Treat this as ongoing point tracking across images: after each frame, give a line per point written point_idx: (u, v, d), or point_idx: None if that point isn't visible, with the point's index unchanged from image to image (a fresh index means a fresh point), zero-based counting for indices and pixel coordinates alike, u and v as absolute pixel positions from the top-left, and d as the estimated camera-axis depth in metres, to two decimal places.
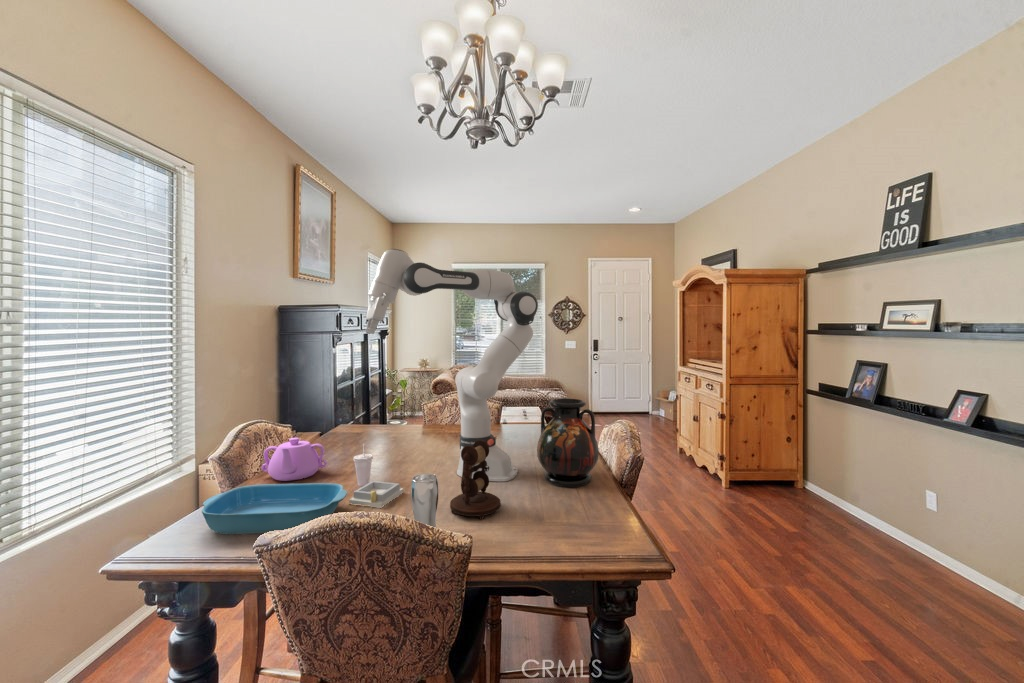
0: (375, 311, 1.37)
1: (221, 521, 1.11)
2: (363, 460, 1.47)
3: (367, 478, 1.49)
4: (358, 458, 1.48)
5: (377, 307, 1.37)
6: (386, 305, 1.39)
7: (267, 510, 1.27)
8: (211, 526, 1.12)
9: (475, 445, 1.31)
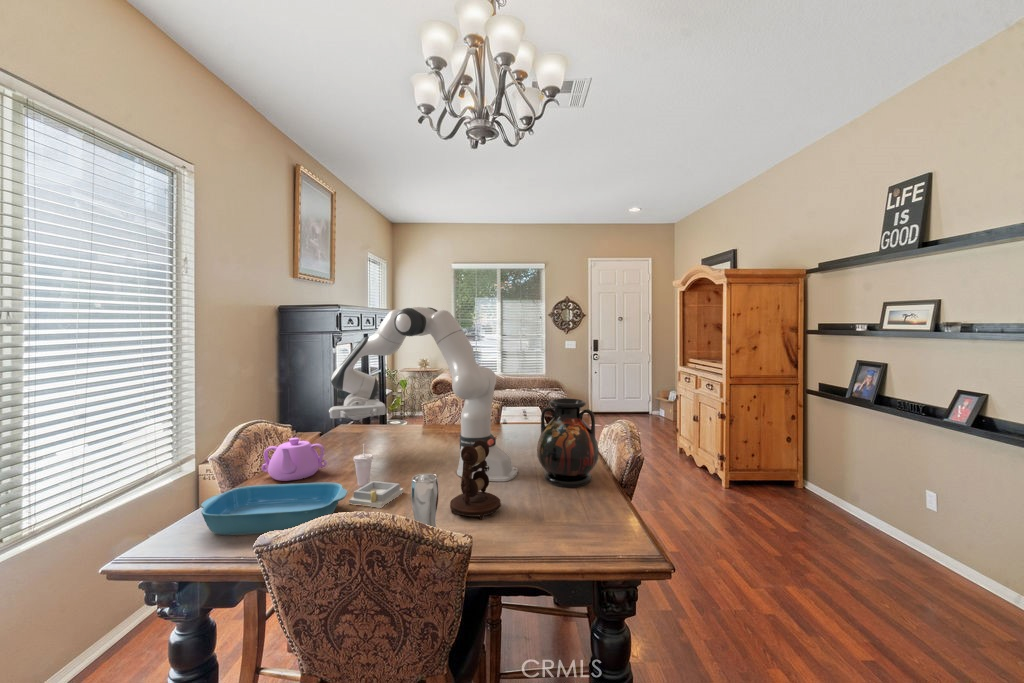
0: None
1: (222, 522, 1.10)
2: (363, 460, 1.47)
3: (367, 478, 1.49)
4: (358, 458, 1.48)
5: None
6: None
7: (265, 511, 1.26)
8: (211, 527, 1.11)
9: (475, 445, 1.31)
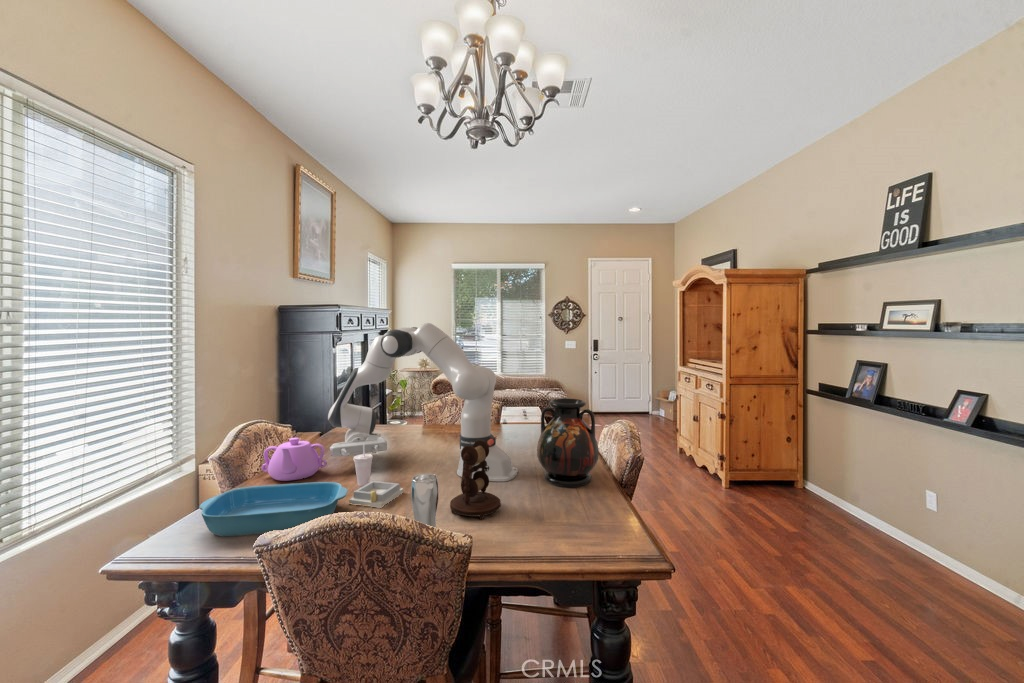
0: None
1: (224, 523, 1.10)
2: (363, 460, 1.47)
3: (367, 478, 1.49)
4: (358, 458, 1.48)
5: None
6: None
7: (264, 511, 1.26)
8: (212, 529, 1.10)
9: (475, 445, 1.31)
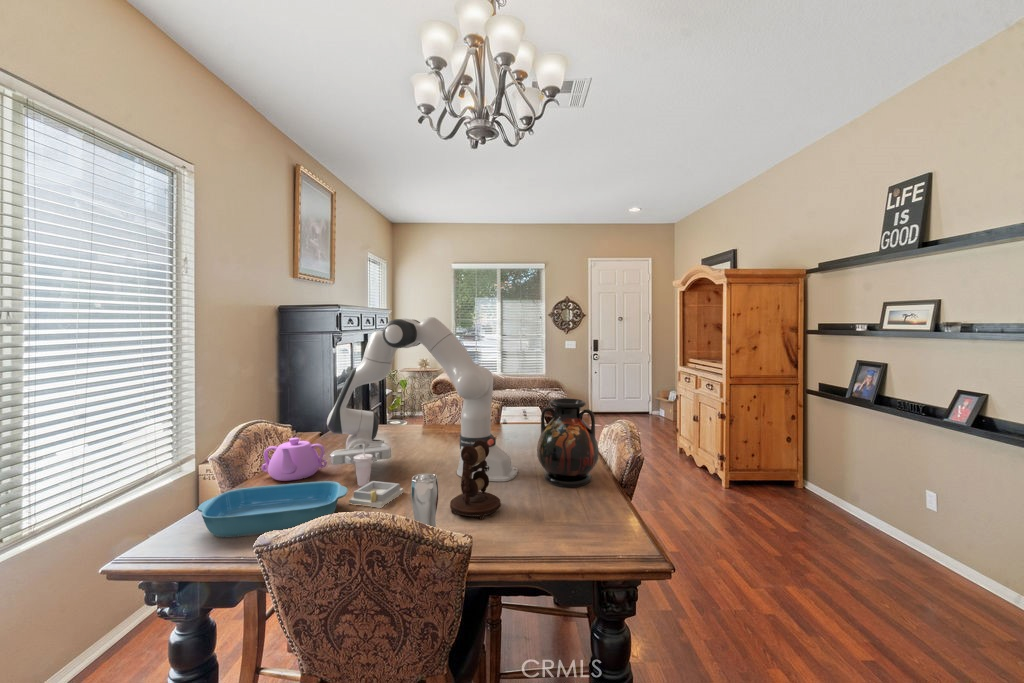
0: None
1: (226, 524, 1.09)
2: (363, 460, 1.47)
3: (367, 478, 1.49)
4: (358, 458, 1.48)
5: None
6: (332, 452, 1.54)
7: (262, 512, 1.25)
8: (214, 530, 1.10)
9: (475, 445, 1.31)
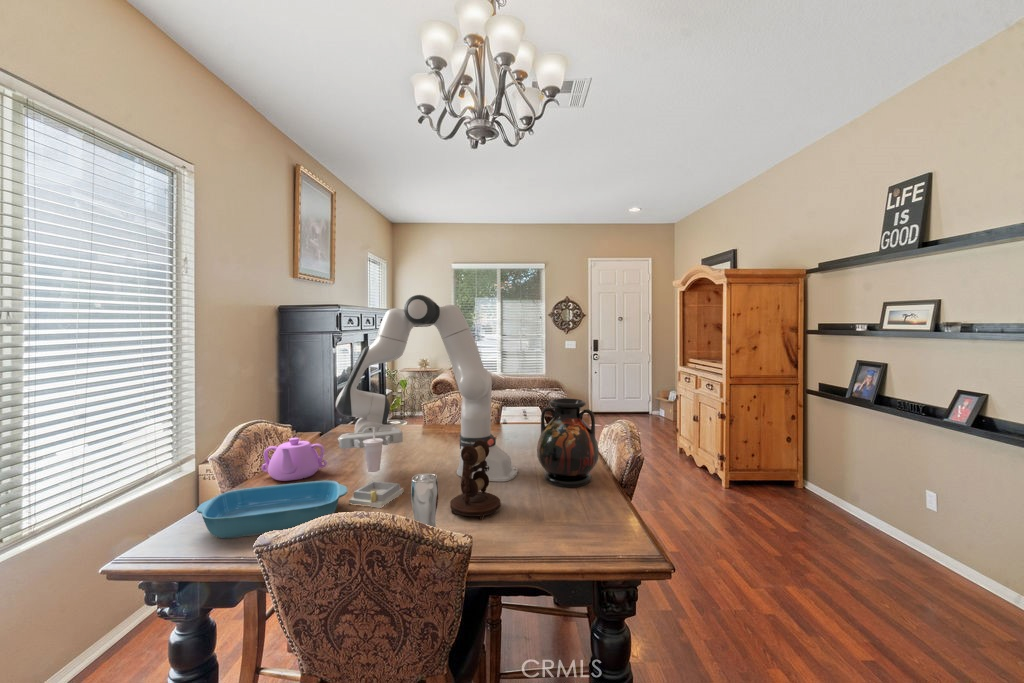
0: None
1: (229, 524, 1.09)
2: (373, 444, 1.38)
3: (378, 463, 1.40)
4: (368, 442, 1.38)
5: None
6: (340, 436, 1.45)
7: (260, 512, 1.25)
8: (215, 531, 1.09)
9: (475, 445, 1.31)
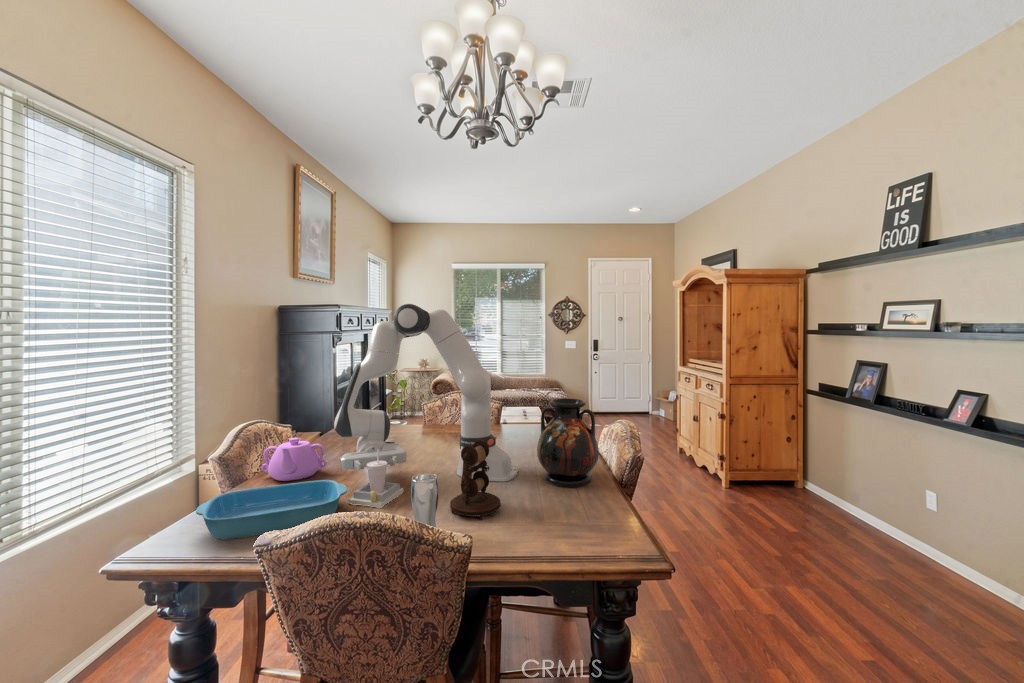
0: None
1: (232, 525, 1.09)
2: (377, 468, 1.34)
3: (381, 487, 1.36)
4: (372, 465, 1.35)
5: None
6: (342, 456, 1.41)
7: (258, 513, 1.24)
8: (218, 532, 1.08)
9: (475, 445, 1.31)
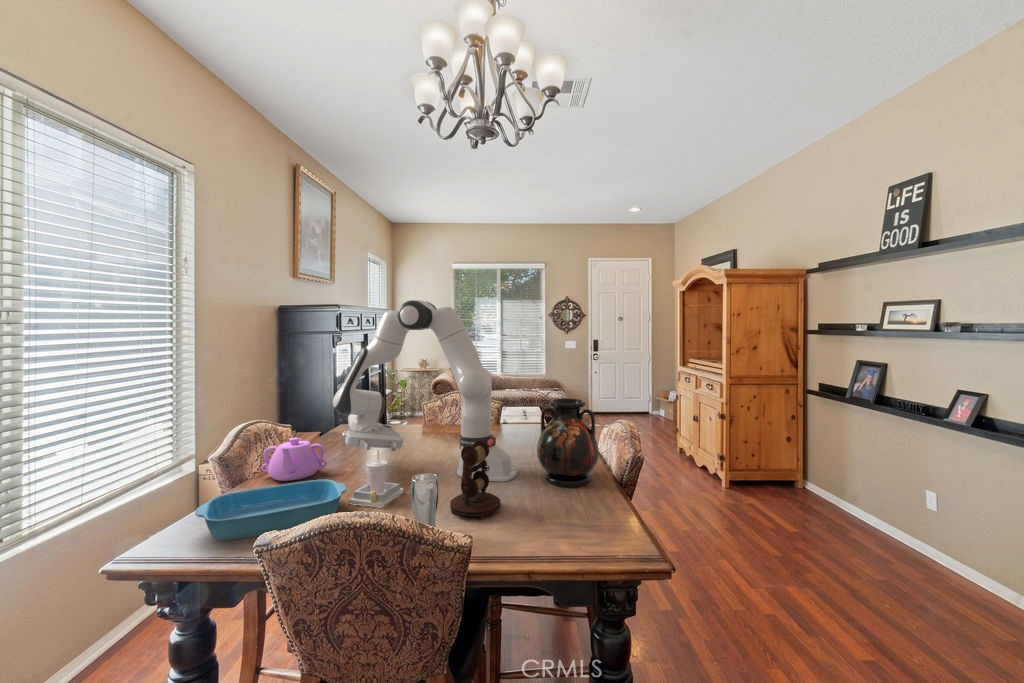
0: (346, 442, 1.50)
1: (235, 525, 1.08)
2: (377, 467, 1.34)
3: (381, 487, 1.36)
4: (372, 465, 1.35)
5: (345, 440, 1.51)
6: (347, 432, 1.52)
7: (256, 514, 1.24)
8: (221, 533, 1.08)
9: (475, 445, 1.31)
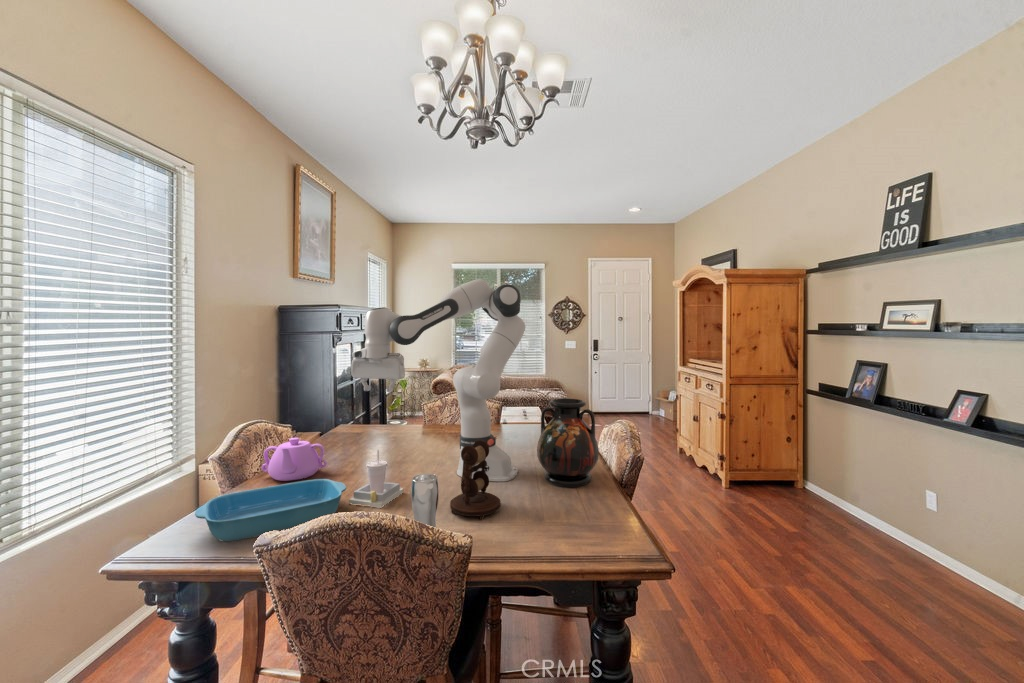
0: (400, 373, 1.53)
1: (239, 526, 1.08)
2: (377, 468, 1.34)
3: (381, 487, 1.36)
4: (372, 465, 1.35)
5: (400, 369, 1.53)
6: (403, 364, 1.55)
7: (255, 515, 1.23)
8: (223, 534, 1.07)
9: (475, 445, 1.31)
